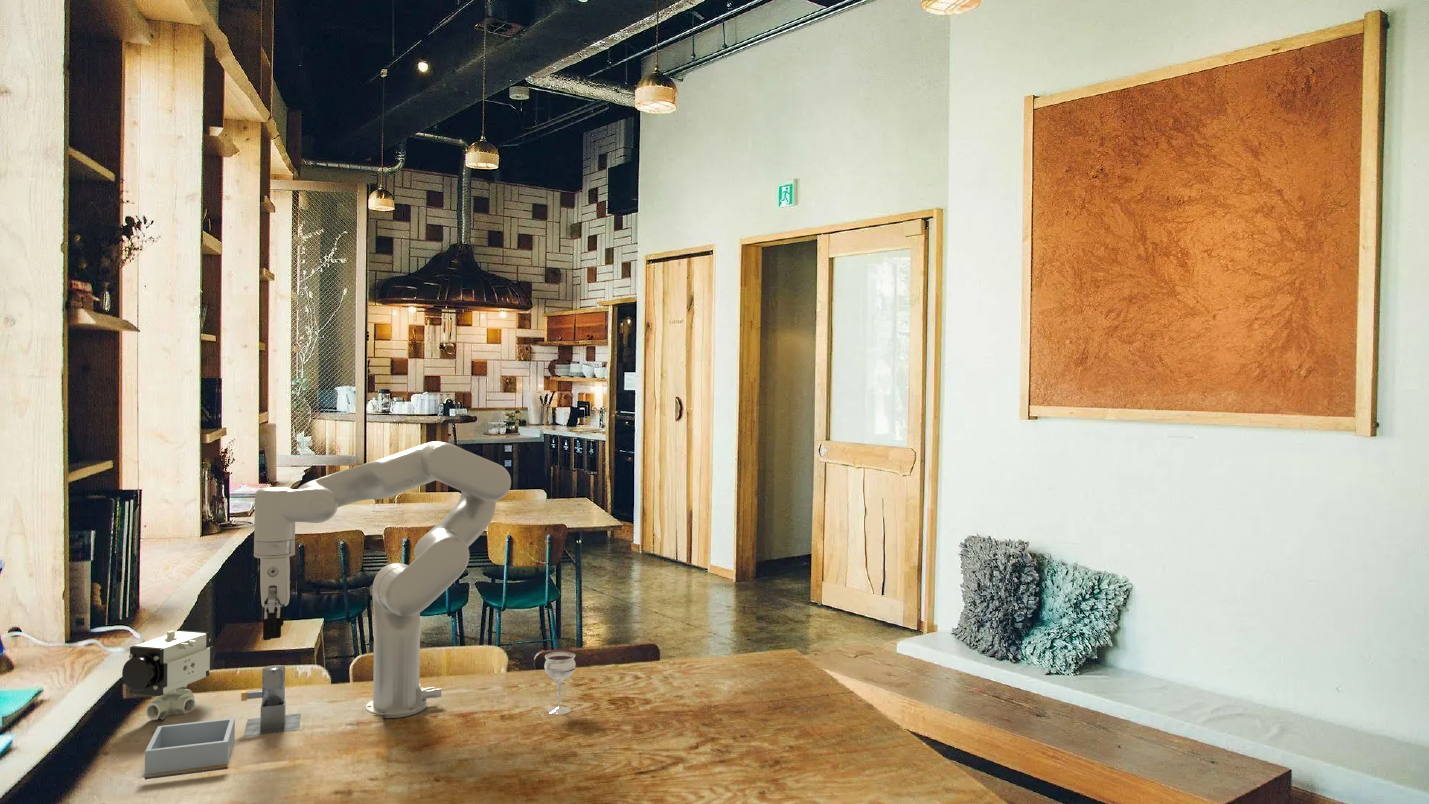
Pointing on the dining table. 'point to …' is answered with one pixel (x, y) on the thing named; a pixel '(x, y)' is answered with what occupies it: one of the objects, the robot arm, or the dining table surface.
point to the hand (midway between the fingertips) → (273, 632)
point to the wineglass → (559, 674)
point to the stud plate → (254, 728)
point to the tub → (190, 747)
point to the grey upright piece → (270, 697)
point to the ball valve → (169, 670)
